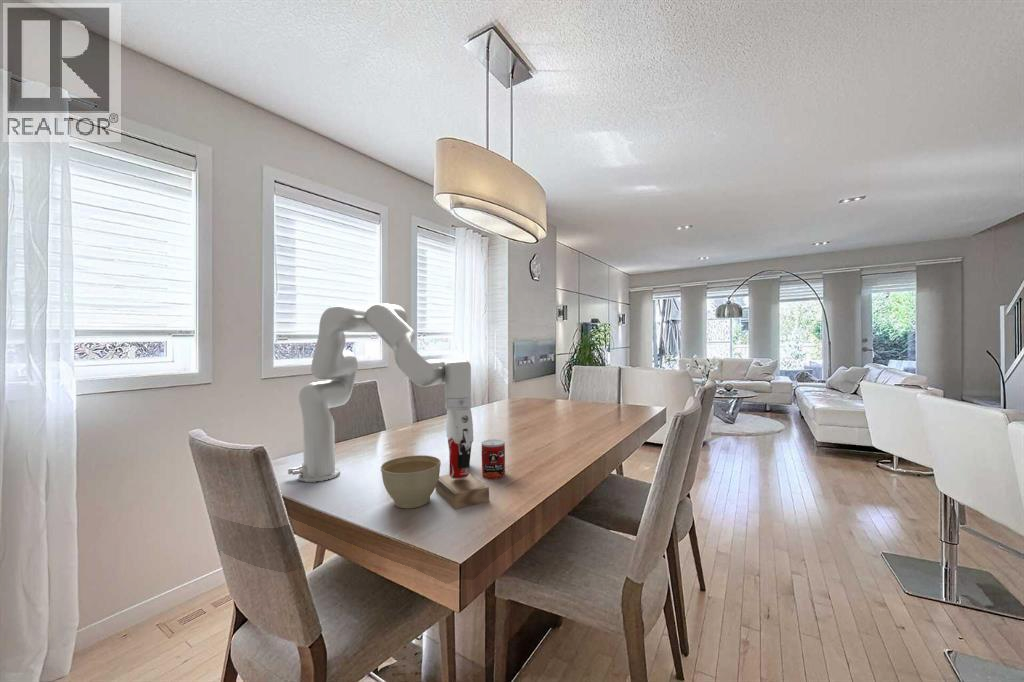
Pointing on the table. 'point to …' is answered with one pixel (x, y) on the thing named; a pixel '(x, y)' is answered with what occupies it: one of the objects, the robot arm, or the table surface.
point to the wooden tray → (462, 491)
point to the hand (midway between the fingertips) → (458, 464)
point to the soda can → (456, 462)
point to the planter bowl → (411, 479)
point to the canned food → (493, 458)
